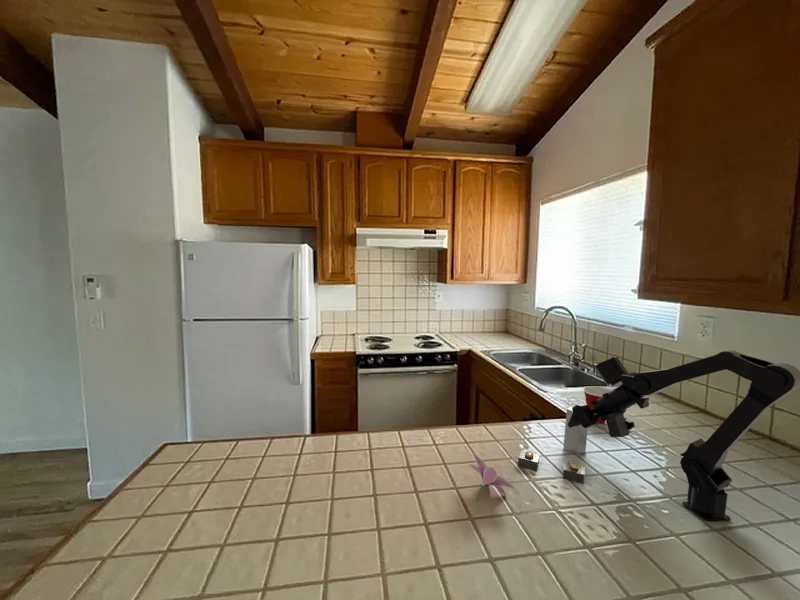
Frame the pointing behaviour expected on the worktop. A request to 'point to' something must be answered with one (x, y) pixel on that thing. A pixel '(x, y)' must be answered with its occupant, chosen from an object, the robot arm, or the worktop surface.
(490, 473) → the lily
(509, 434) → the worktop surface
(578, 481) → the chain ends
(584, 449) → the tall metal block
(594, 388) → the plastic cup
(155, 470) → the worktop surface
